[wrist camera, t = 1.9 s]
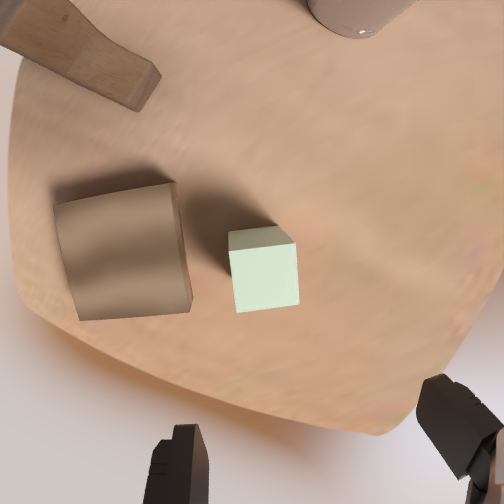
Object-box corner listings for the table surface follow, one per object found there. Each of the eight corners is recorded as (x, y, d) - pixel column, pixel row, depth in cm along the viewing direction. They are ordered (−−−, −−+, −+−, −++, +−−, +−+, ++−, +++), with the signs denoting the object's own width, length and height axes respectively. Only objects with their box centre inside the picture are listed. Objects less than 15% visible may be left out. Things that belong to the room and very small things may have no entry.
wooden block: (163, 76, 26) (99, -17, 9) (140, 114, 27) (45, 57, 10) (97, 48, 25) (7, -29, 7) (75, 83, 25) (-34, 30, 8)
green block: (228, 231, 31) (228, 251, 23) (278, 225, 31) (295, 243, 23) (234, 279, 32) (236, 312, 24) (282, 273, 32) (299, 304, 25)
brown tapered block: (70, 201, 29) (52, 205, 25) (176, 181, 30) (169, 183, 26) (93, 305, 32) (79, 320, 28) (193, 296, 33) (189, 312, 29)
